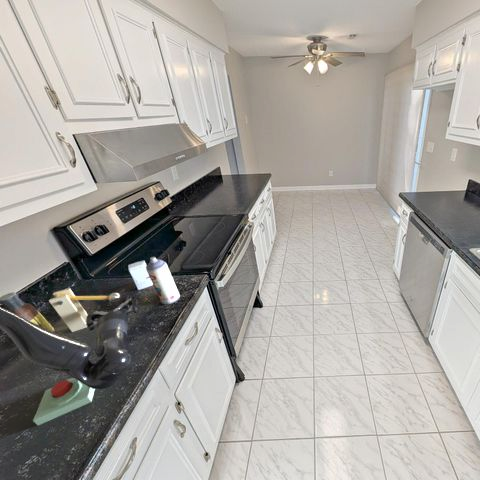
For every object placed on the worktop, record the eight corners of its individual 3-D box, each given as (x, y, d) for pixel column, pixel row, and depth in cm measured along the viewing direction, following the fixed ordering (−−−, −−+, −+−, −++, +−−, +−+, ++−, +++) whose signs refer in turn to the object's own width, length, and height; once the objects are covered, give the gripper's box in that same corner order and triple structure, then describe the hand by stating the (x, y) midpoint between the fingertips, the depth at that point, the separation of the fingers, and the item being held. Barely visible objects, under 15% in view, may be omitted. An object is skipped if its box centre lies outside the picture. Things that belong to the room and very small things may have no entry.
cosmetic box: (139, 292, 109) (127, 269, 104) (138, 287, 113) (127, 264, 107) (155, 286, 112) (144, 264, 106) (154, 282, 116) (144, 259, 110)
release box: (98, 375, 75) (91, 366, 73) (91, 401, 68) (84, 393, 66) (49, 395, 71) (41, 386, 69) (37, 425, 64) (28, 417, 62)
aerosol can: (158, 300, 104) (139, 259, 94) (175, 291, 108) (158, 251, 99) (165, 307, 100) (145, 265, 90) (182, 297, 104) (165, 256, 95)
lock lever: (120, 298, 97) (121, 290, 96) (119, 304, 94) (120, 296, 94) (58, 299, 87) (58, 290, 86) (54, 306, 85) (55, 296, 84)
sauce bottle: (48, 330, 93) (14, 287, 83) (61, 332, 92) (28, 289, 82) (27, 345, 87) (-13, 301, 78) (40, 347, 86) (2, 303, 77)
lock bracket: (100, 315, 98) (79, 283, 90) (96, 329, 92) (73, 295, 84) (70, 325, 94) (46, 292, 87) (64, 340, 88) (37, 306, 81)
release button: (73, 381, 70) (70, 377, 69) (70, 392, 67) (66, 388, 66) (56, 388, 68) (53, 384, 68) (52, 400, 66) (48, 396, 65)
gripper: (134, 310, 82) (133, 285, 94) (77, 332, 75) (84, 302, 87) (143, 327, 85) (141, 301, 97) (90, 349, 79) (95, 318, 91)
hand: (114, 301), depth 92 cm, fingers open, 8 cm apart
